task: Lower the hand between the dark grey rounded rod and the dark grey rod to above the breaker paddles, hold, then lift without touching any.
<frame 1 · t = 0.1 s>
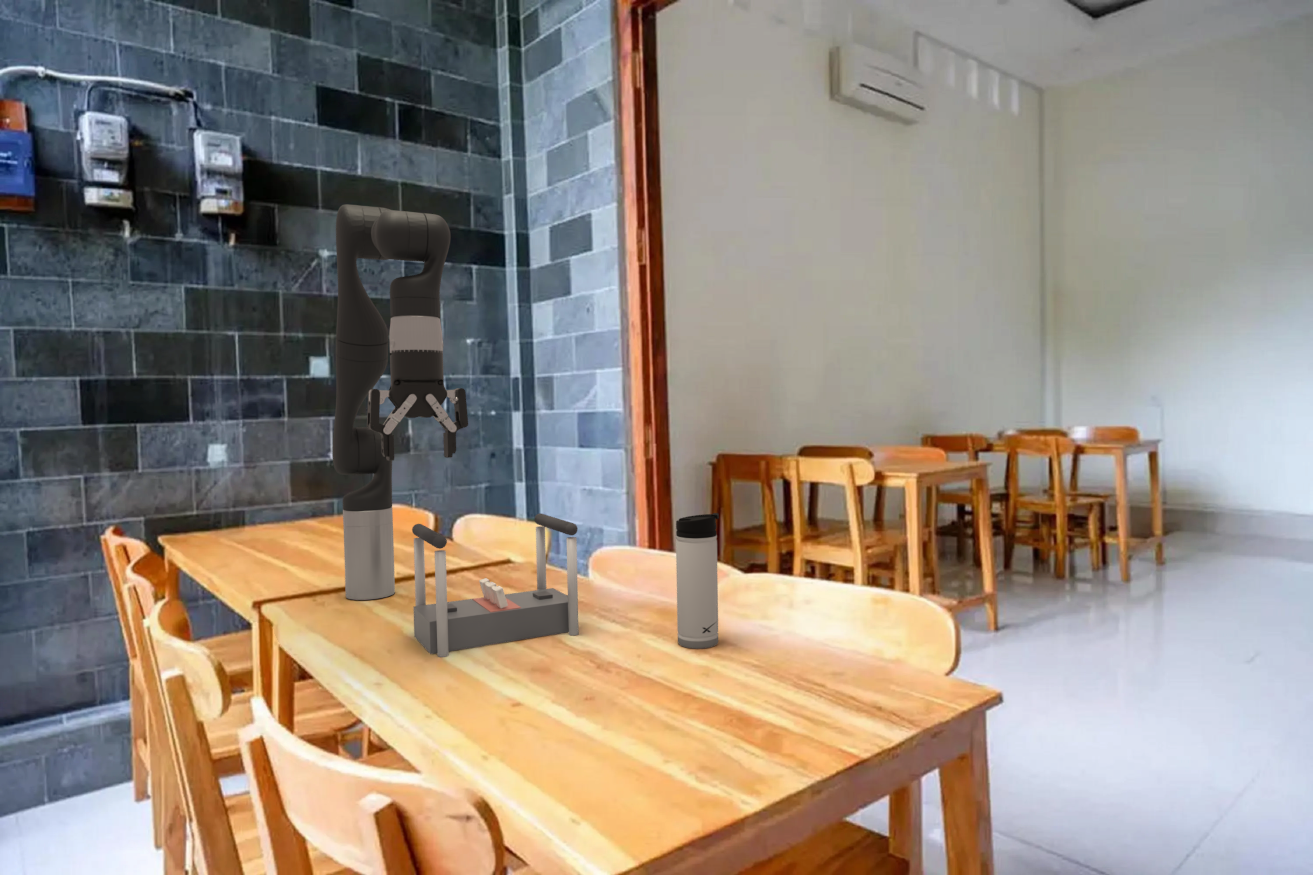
hand: (419, 458, 121), 29 cm above the table, tool pointing down, fingers open, 8 cm apart
pdu: (496, 633, 133), on the table
dark grey rounded rod: (428, 535, 127), point 17 cm above the table, slide at 0.0 cm
dark grey rod: (555, 523, 137), point 17 cm above the table, slide at 0.0 cm
breaker paddles: (493, 592, 132), point 7 cm above the table, hinge at 15.0°
travel mug: (699, 644, 125), on the table
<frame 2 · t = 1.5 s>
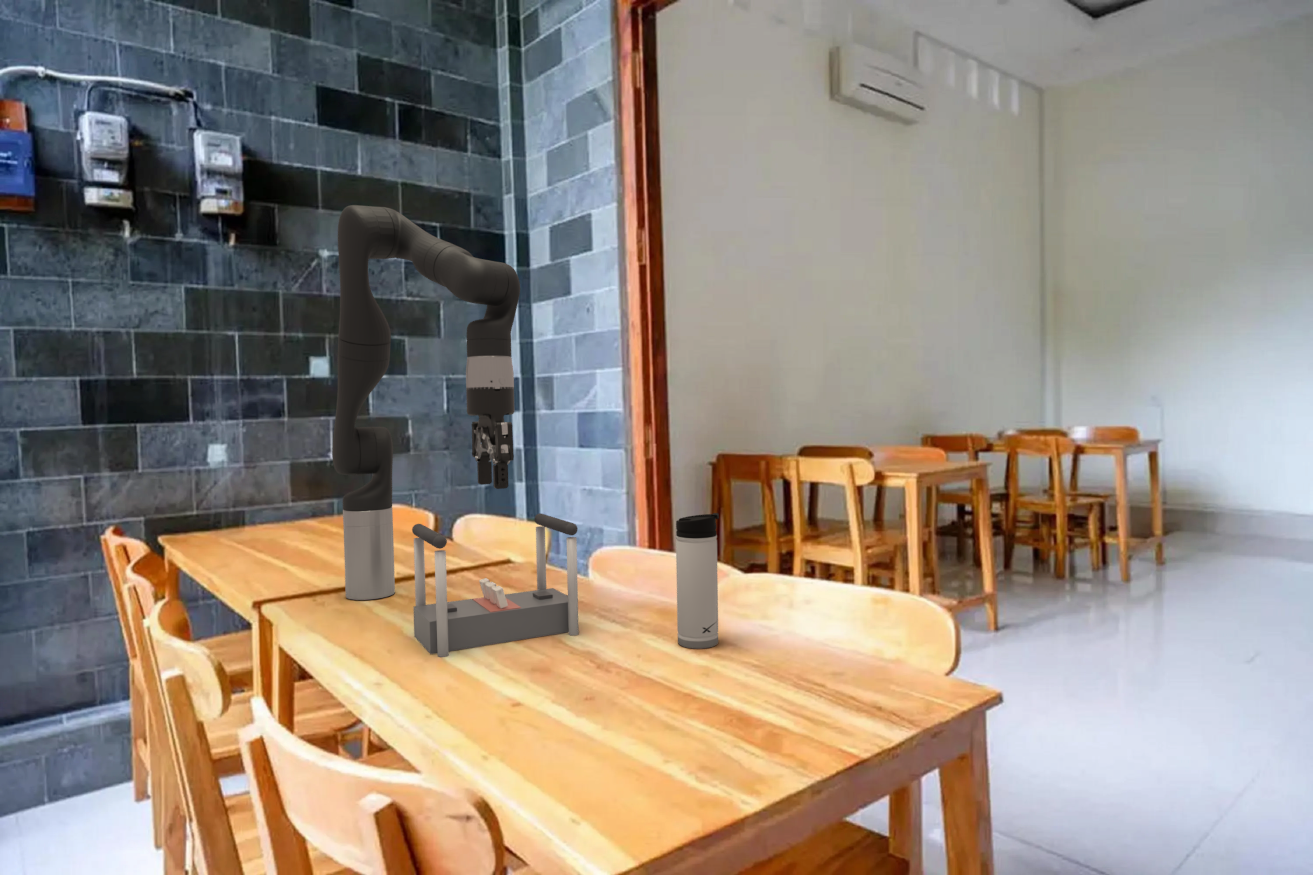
hand: (492, 486, 132), 24 cm above the table, tool pointing down, fingers open, 8 cm apart
nothing on the table moved.
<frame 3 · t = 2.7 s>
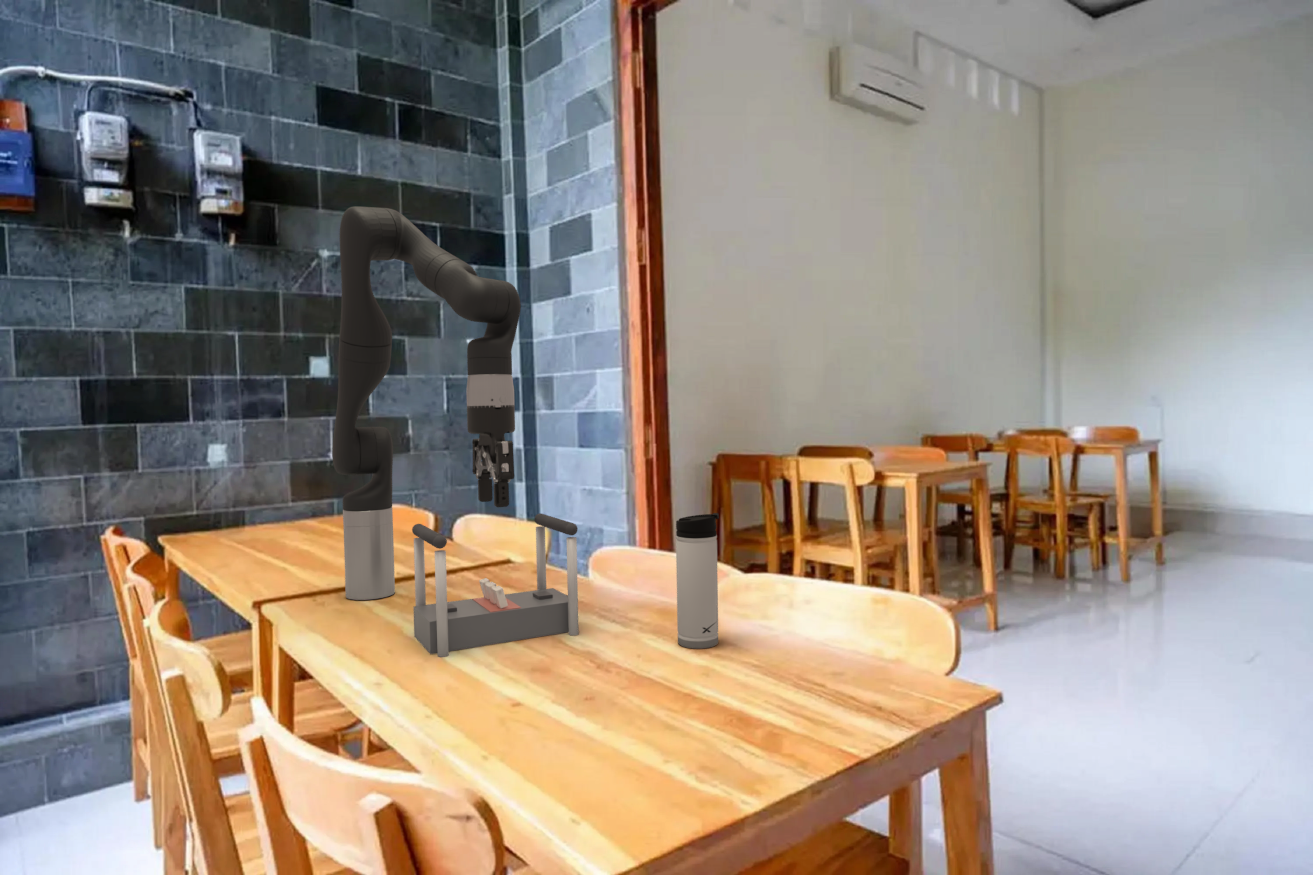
hand: (493, 504, 132), 21 cm above the table, tool pointing down, fingers open, 8 cm apart
nothing on the table moved.
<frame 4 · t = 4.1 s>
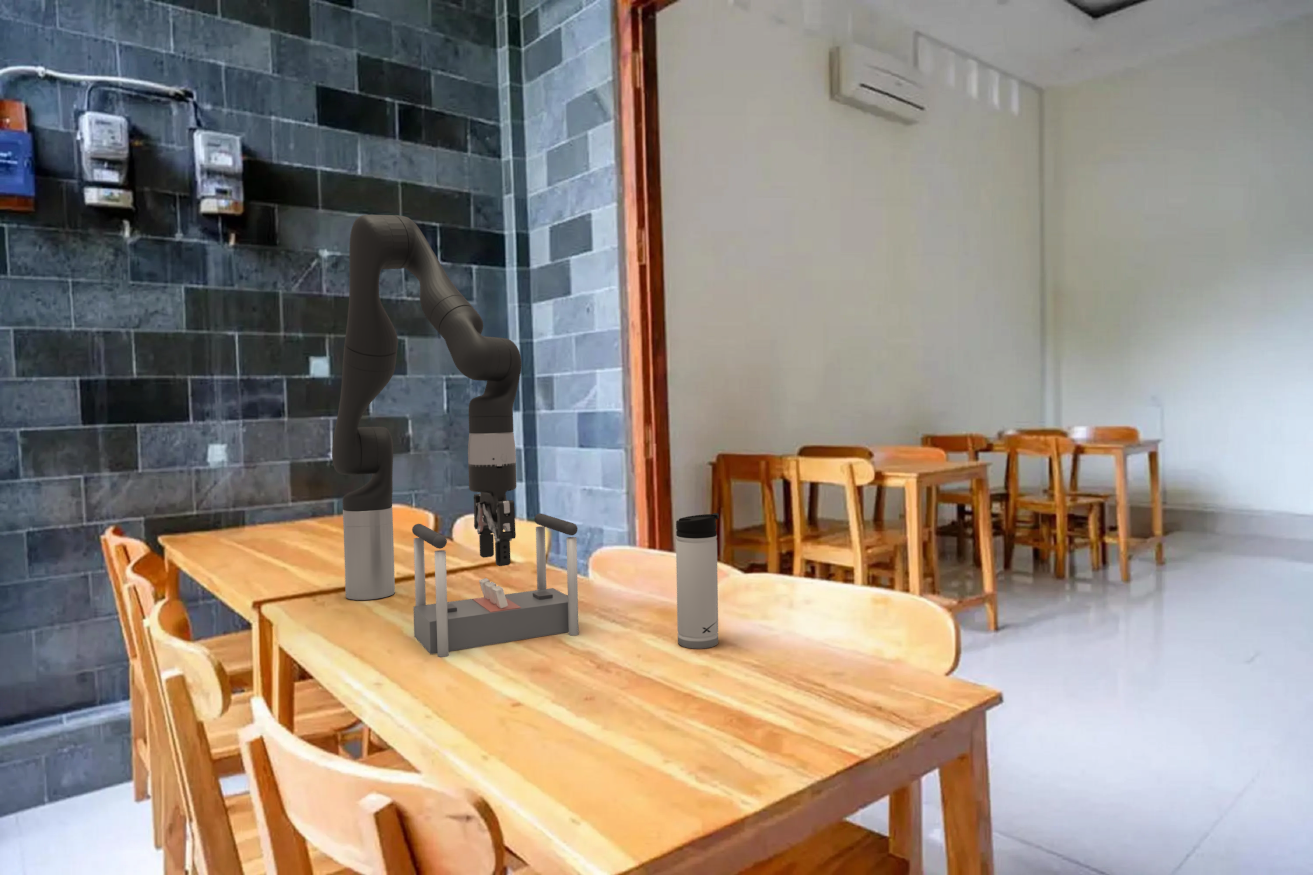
hand: (494, 560, 132), 12 cm above the table, tool pointing down, fingers open, 8 cm apart
nothing on the table moved.
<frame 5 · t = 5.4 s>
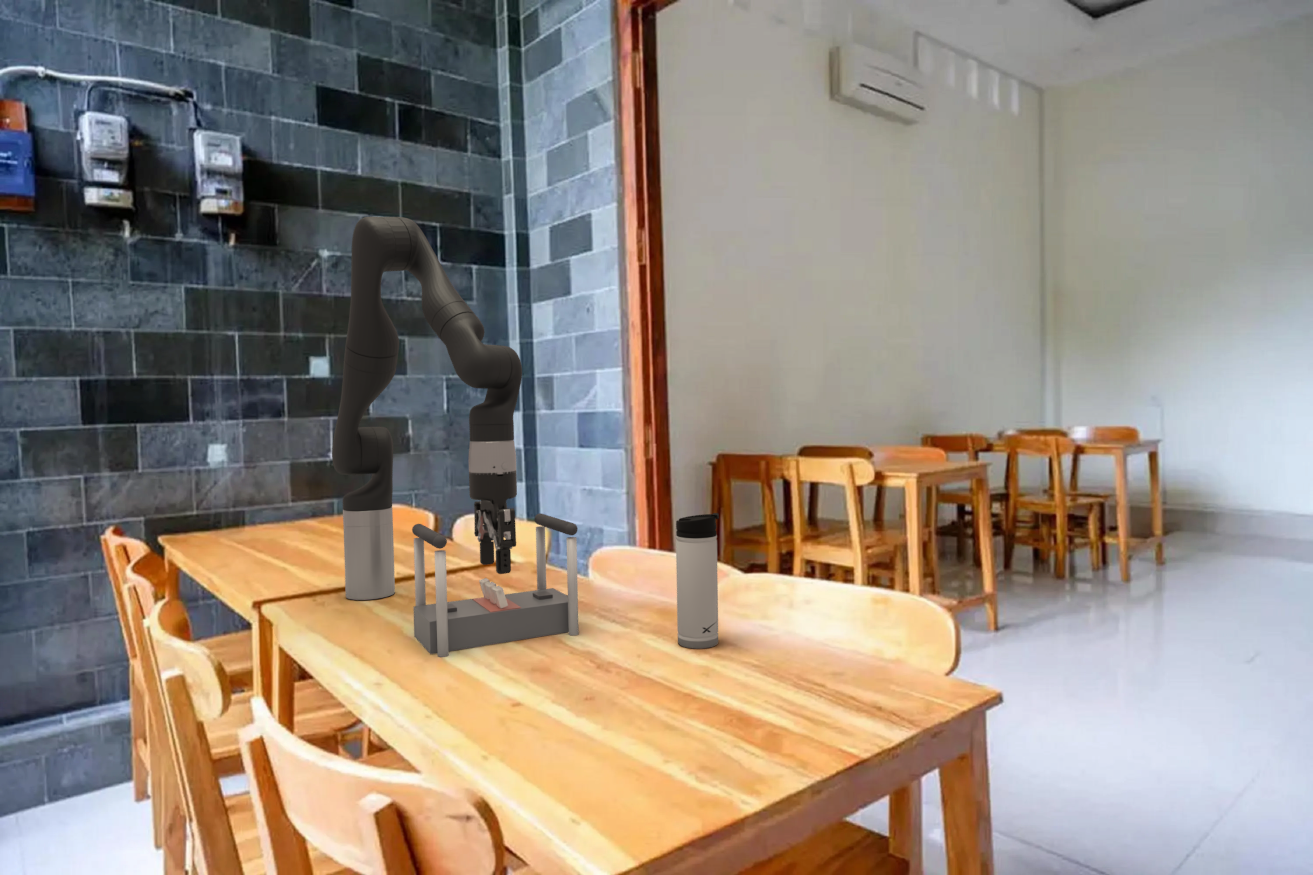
hand: (495, 568, 132), 11 cm above the table, tool pointing down, fingers open, 8 cm apart
nothing on the table moved.
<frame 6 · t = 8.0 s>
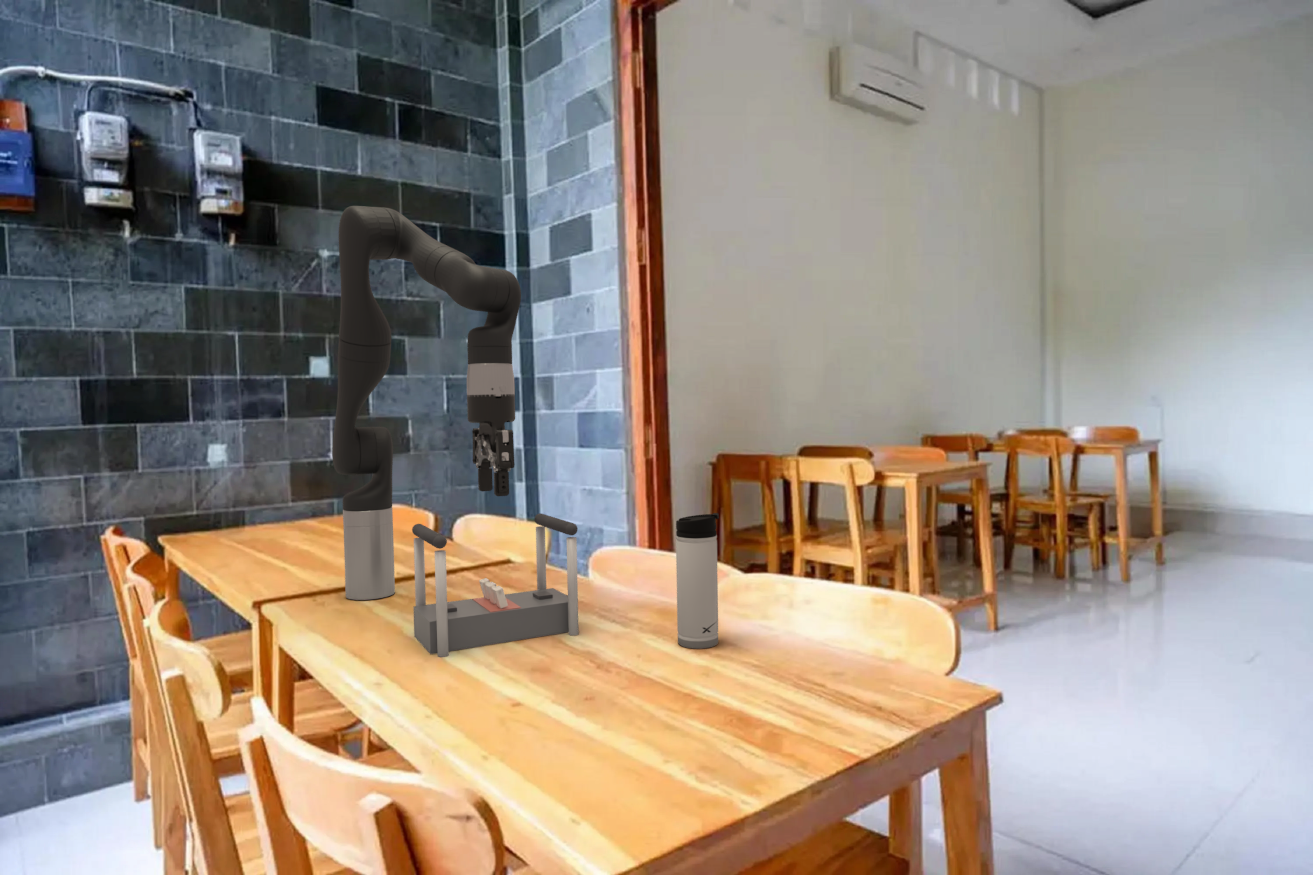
hand: (493, 493, 132), 23 cm above the table, tool pointing down, fingers open, 8 cm apart
nothing on the table moved.
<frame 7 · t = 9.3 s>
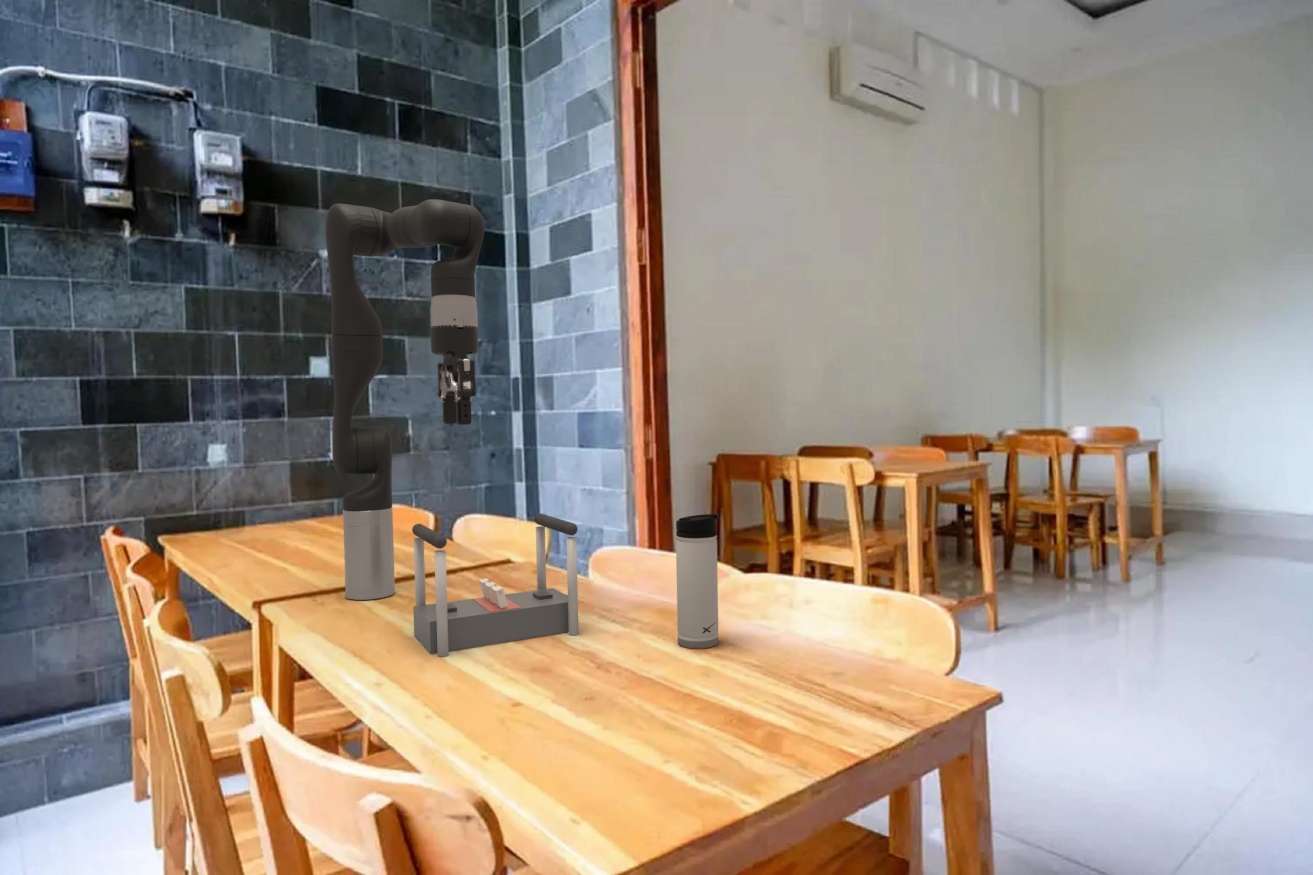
hand: (456, 424, 135), 34 cm above the table, tool pointing down, fingers open, 8 cm apart
nothing on the table moved.
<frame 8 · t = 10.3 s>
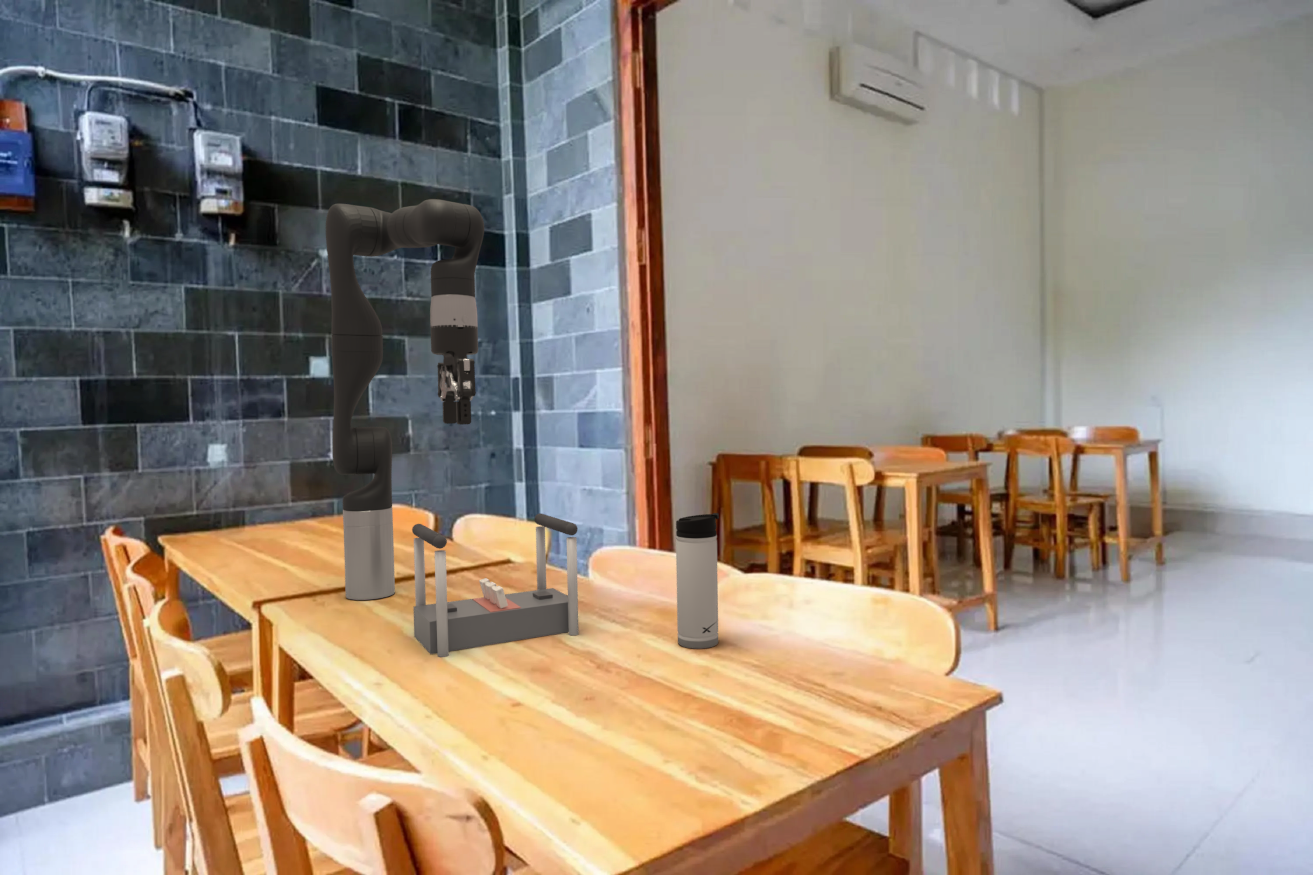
hand: (456, 423, 135), 34 cm above the table, tool pointing down, fingers open, 8 cm apart
nothing on the table moved.
at the end: breaker paddles at +15° (first picture: +15°); dark grey rounded rod slide at 0.0 cm; dark grey rod slide at 0.0 cm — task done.
